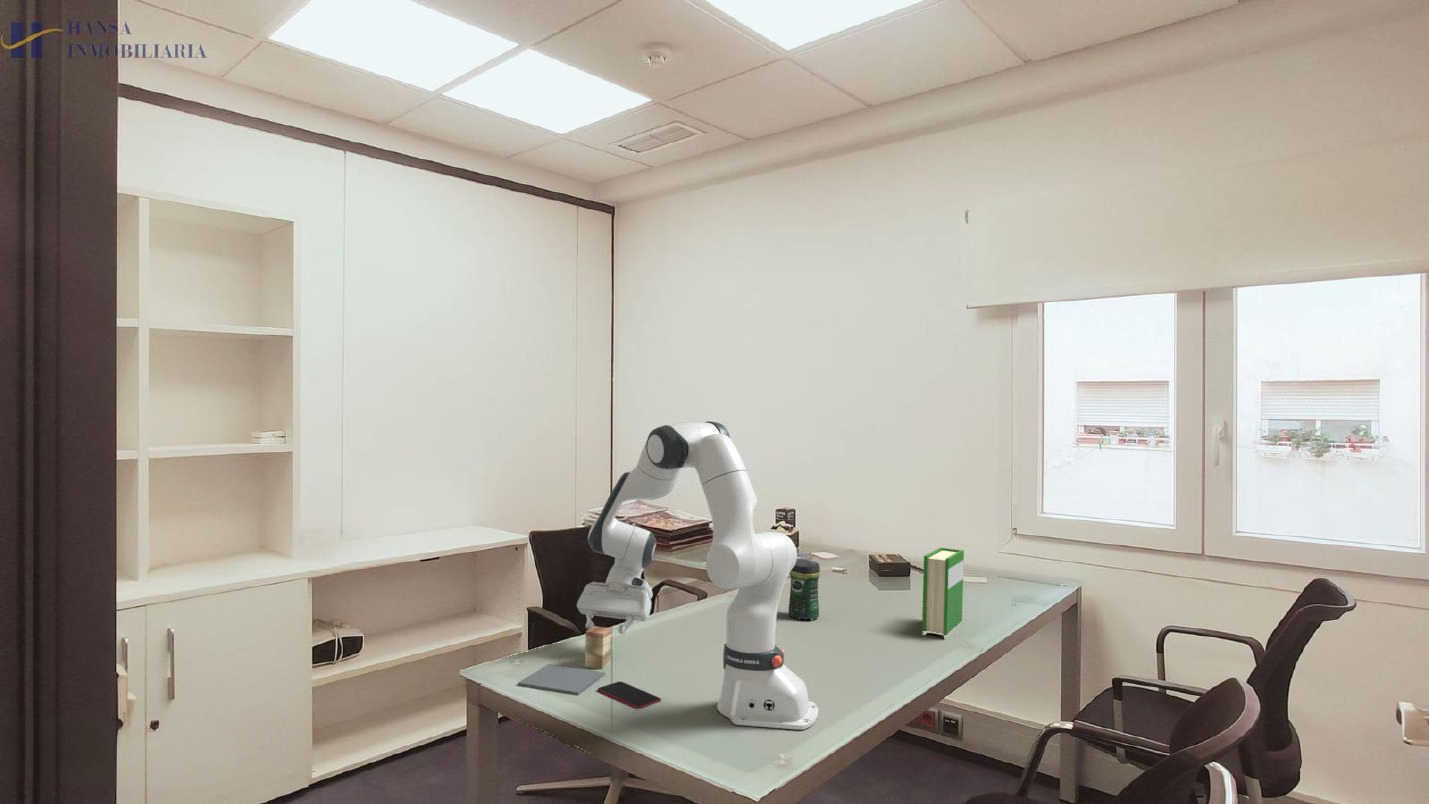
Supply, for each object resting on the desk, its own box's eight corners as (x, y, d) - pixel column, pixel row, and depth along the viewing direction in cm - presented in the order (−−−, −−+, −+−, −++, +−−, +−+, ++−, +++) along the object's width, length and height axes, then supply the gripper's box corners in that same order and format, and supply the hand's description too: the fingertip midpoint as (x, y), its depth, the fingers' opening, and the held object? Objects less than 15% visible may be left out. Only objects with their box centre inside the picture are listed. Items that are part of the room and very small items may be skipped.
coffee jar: (823, 618, 243) (824, 561, 243) (807, 622, 238) (808, 564, 238) (799, 612, 250) (801, 556, 250) (784, 616, 245) (785, 558, 245)
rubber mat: (605, 674, 188) (605, 672, 188) (578, 694, 174) (578, 692, 174) (548, 666, 193) (548, 663, 193) (517, 685, 179) (518, 682, 179)
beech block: (610, 662, 197) (611, 628, 197) (602, 669, 192) (603, 633, 192) (593, 660, 198) (594, 626, 198) (584, 666, 193) (585, 631, 193)
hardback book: (946, 639, 224) (948, 559, 224) (921, 635, 228) (924, 555, 228) (961, 626, 239) (963, 550, 239) (938, 621, 243) (940, 547, 243)
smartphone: (638, 707, 167) (596, 688, 177) (638, 711, 167) (595, 692, 177) (662, 698, 172) (620, 680, 183) (662, 702, 172) (620, 684, 183)
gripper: (584, 575, 209) (565, 619, 199) (652, 582, 202) (636, 628, 193) (591, 587, 213) (573, 631, 203) (658, 595, 206) (643, 641, 197)
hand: (604, 630), depth 198 cm, fingers open, 8 cm apart
